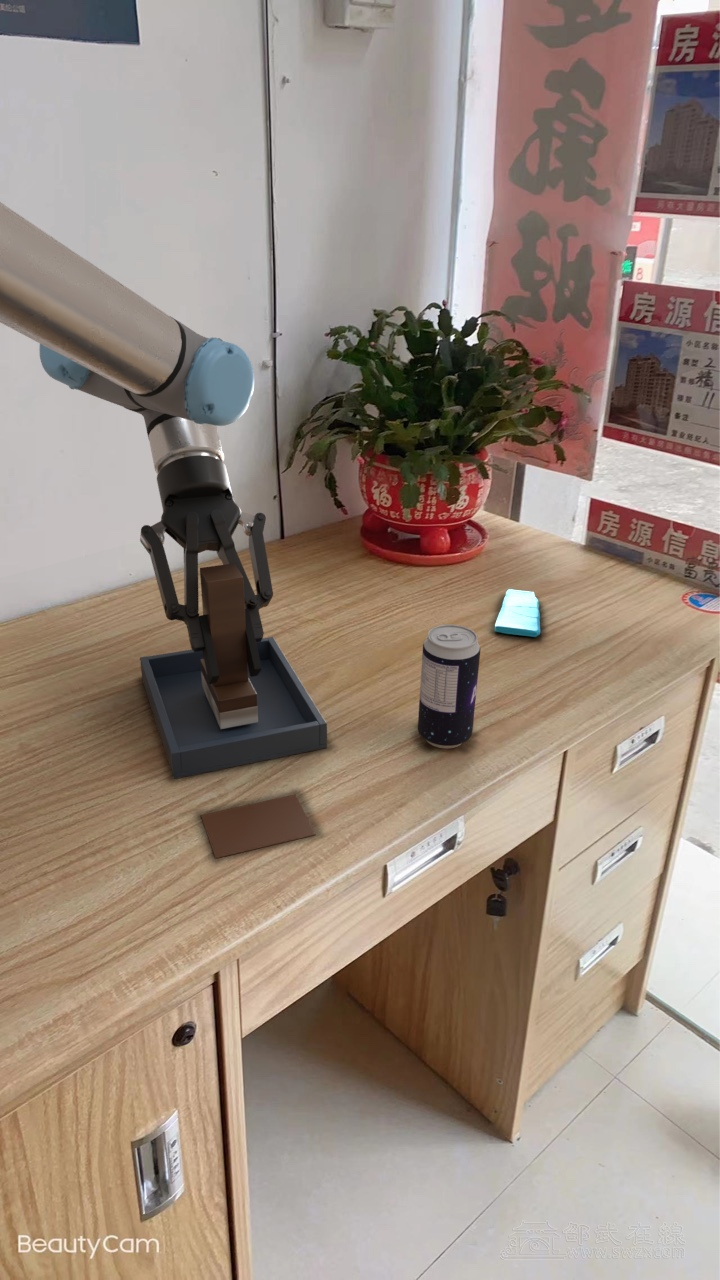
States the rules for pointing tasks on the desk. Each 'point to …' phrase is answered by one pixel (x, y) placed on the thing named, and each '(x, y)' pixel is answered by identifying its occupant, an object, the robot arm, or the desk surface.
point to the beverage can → (448, 685)
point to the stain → (256, 825)
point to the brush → (227, 647)
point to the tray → (206, 747)
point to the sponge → (519, 614)
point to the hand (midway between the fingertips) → (235, 675)
